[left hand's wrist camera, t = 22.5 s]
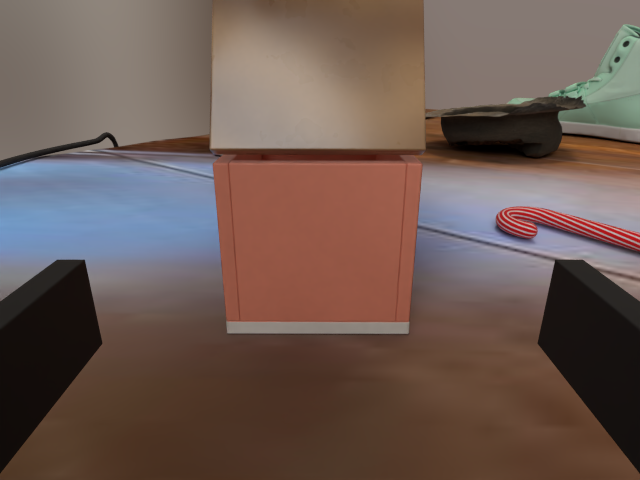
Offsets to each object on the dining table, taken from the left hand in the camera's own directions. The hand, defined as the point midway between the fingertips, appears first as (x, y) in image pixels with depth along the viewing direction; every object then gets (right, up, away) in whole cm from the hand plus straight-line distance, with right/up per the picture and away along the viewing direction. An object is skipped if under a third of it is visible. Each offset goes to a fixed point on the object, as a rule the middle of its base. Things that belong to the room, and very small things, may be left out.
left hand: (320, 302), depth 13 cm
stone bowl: (+30, +17, +64) cm, 72 cm away
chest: (0, -1, +17) cm, 17 cm away
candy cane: (+22, +1, +23) cm, 32 cm away
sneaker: (+54, +24, +81) cm, 100 cm away
